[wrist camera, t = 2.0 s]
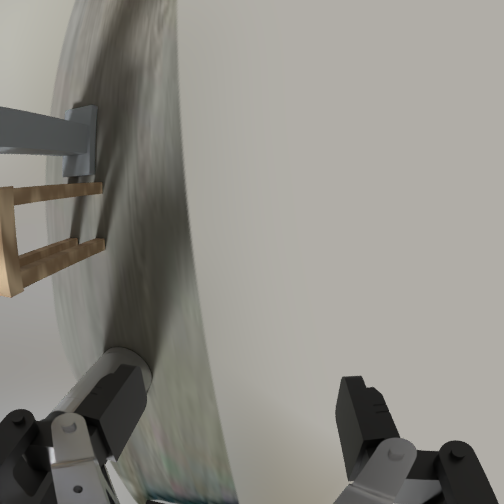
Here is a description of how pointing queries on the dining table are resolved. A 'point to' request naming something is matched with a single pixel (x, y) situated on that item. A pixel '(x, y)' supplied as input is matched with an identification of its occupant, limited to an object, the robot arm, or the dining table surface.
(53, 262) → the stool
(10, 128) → the stand
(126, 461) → the dining table surface
